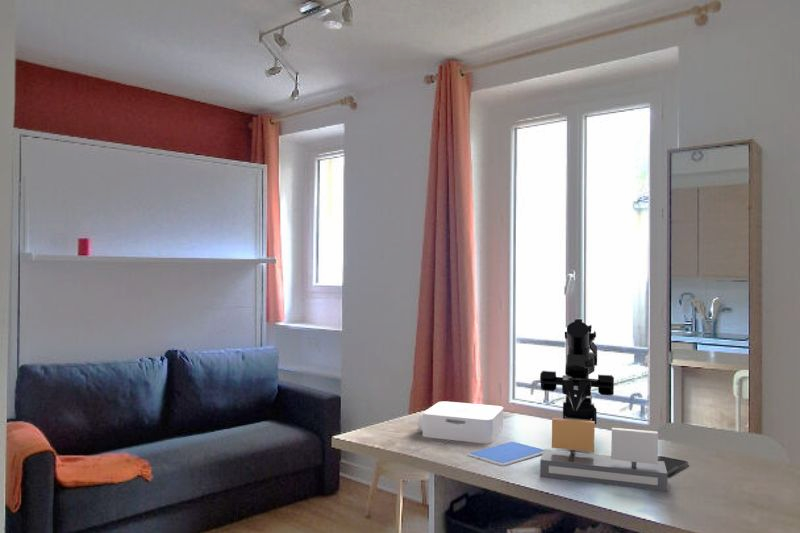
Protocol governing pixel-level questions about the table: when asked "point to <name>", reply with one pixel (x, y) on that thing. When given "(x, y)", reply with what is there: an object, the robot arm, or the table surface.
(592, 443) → the amber toggle
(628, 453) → the grey toggle
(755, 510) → the table surface
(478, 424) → the projector
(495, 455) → the tablet computer
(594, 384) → the robot arm
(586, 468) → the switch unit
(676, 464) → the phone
